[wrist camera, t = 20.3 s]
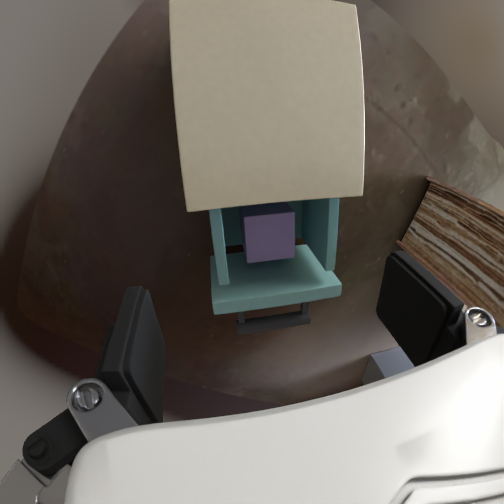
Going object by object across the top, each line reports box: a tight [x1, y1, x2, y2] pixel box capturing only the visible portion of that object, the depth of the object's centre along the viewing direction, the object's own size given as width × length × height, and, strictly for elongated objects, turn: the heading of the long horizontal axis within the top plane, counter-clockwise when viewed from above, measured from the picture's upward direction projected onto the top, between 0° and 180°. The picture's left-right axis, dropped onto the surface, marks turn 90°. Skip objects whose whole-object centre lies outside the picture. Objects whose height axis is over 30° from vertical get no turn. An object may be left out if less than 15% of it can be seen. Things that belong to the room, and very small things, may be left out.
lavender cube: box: [239, 202, 295, 263], centre depth 25 cm, size 4×4×4 cm
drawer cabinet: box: [169, 0, 365, 212], centre depth 19 cm, size 14×12×10 cm
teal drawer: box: [209, 197, 342, 335], centre depth 24 cm, size 17×10×8 cm, turn 4°
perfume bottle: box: [362, 347, 415, 385], centre depth 35 cm, size 7×7×18 cm
